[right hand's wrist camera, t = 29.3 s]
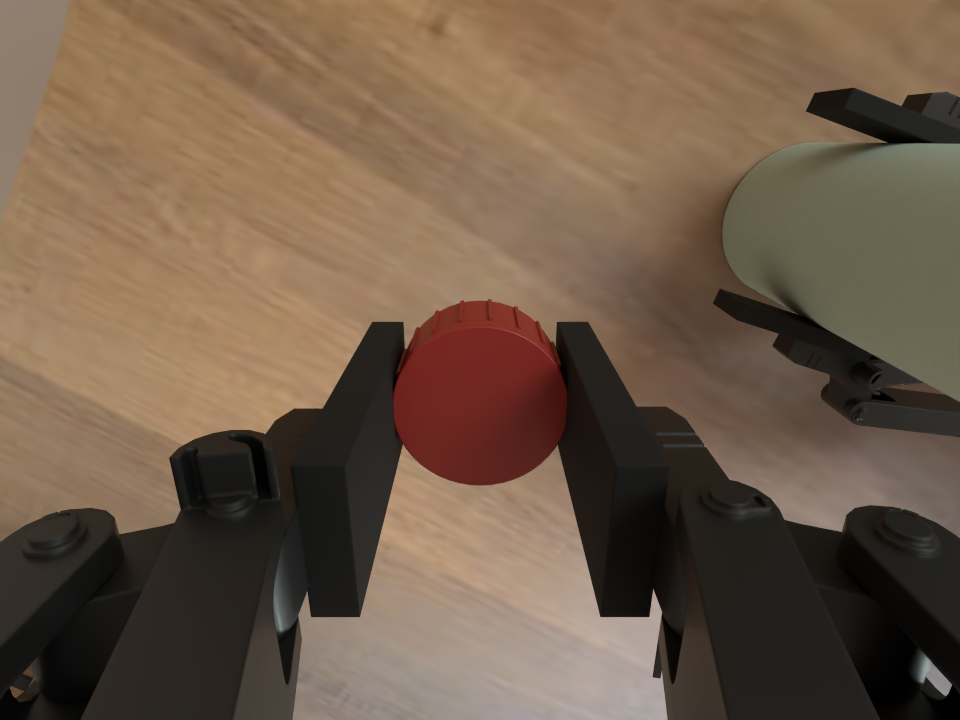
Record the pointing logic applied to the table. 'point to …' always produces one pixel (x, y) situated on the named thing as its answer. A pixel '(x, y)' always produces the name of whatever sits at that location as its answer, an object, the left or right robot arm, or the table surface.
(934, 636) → the right robot arm
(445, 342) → the cap
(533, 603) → the table surface
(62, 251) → the table surface
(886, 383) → the left robot arm
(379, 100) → the table surface
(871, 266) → the bottle
